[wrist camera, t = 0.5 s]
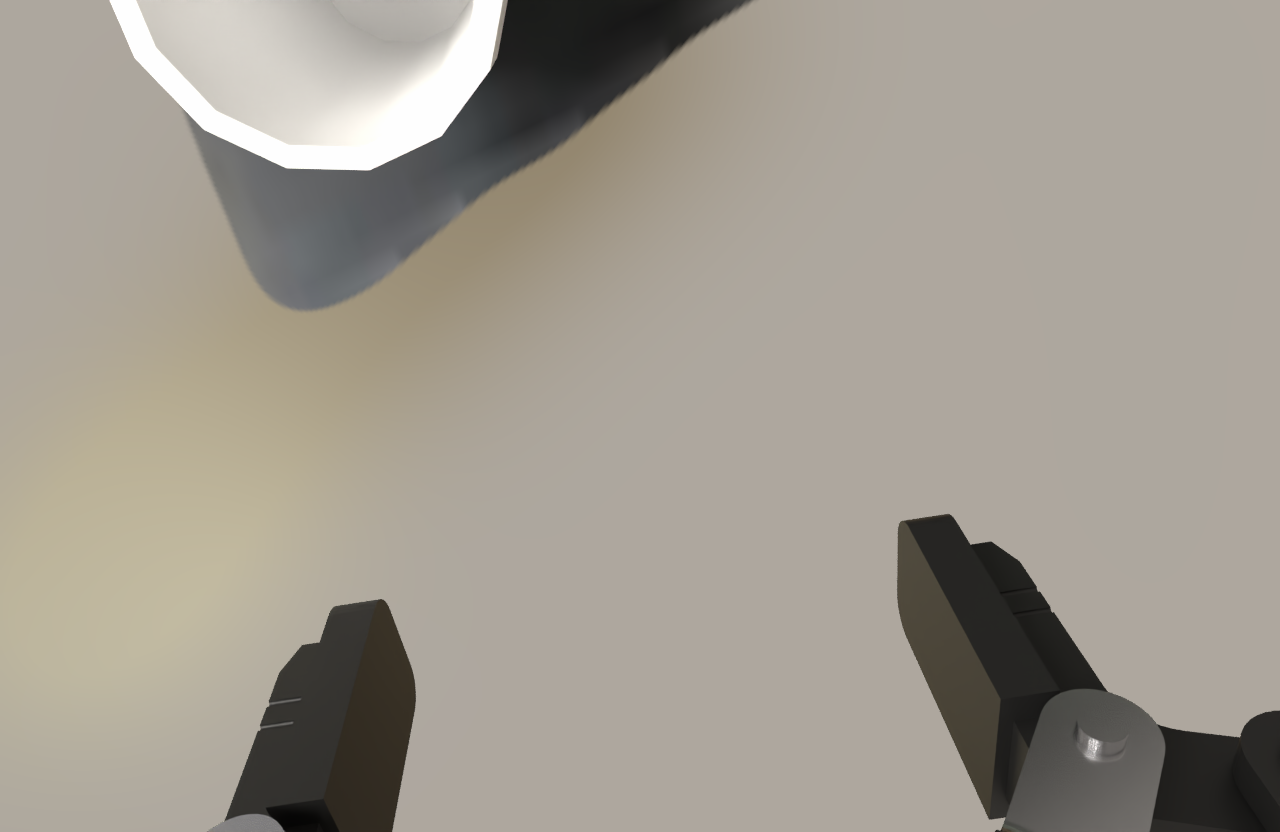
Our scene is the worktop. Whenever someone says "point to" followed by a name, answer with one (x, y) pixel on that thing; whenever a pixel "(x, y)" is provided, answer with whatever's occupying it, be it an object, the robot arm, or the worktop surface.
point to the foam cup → (318, 71)
